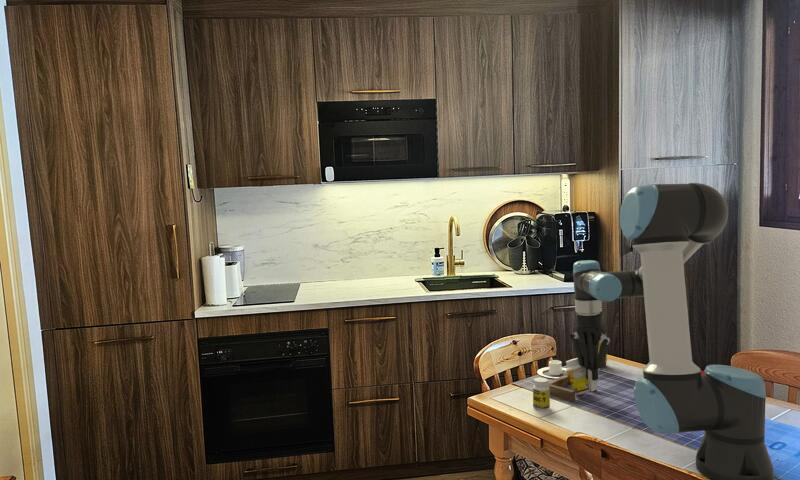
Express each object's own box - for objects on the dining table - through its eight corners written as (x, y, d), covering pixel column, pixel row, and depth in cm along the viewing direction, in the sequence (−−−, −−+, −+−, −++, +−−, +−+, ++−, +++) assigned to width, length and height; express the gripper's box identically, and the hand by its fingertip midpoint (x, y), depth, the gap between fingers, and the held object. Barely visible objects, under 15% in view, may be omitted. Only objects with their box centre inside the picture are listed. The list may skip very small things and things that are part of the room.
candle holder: (573, 381, 199) (573, 368, 198) (535, 379, 202) (535, 366, 202) (574, 370, 210) (574, 357, 210) (538, 368, 214) (538, 356, 213)
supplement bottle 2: (575, 393, 188) (563, 361, 190) (593, 388, 187) (581, 356, 189) (574, 396, 183) (562, 363, 185) (593, 391, 181) (580, 357, 183)
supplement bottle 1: (531, 409, 176) (530, 381, 175) (535, 403, 180) (534, 376, 179) (547, 411, 174) (547, 383, 173) (551, 405, 178) (551, 378, 177)
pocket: (572, 402, 180) (572, 392, 180) (543, 393, 188) (542, 384, 188) (596, 390, 188) (596, 381, 188) (567, 383, 196) (567, 374, 196)
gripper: (614, 312, 178) (618, 390, 180) (577, 308, 188) (581, 382, 190) (600, 317, 173) (604, 398, 175) (563, 312, 183) (567, 389, 185)
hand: (592, 389), depth 183 cm, fingers closed
